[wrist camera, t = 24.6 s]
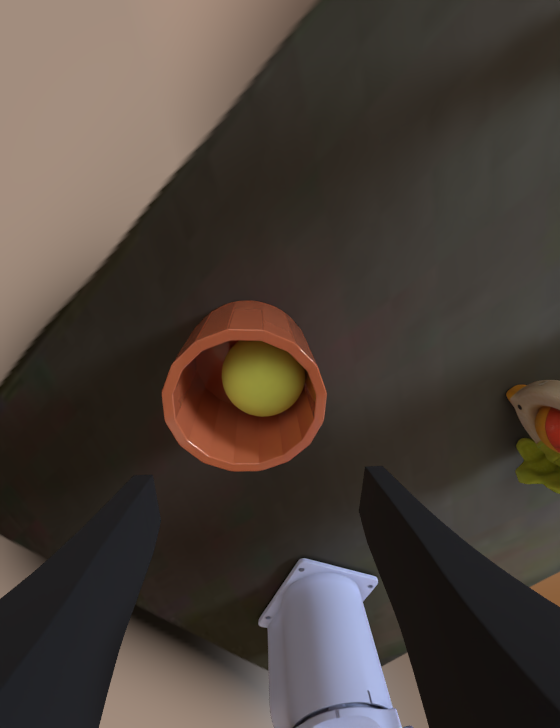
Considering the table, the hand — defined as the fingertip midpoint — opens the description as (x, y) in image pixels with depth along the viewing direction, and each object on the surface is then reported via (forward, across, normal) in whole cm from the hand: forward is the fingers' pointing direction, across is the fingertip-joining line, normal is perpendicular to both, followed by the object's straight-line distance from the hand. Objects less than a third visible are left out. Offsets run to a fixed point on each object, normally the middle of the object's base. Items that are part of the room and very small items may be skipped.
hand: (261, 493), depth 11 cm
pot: (+10, +1, -1) cm, 10 cm away
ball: (+8, 0, -1) cm, 8 cm away
